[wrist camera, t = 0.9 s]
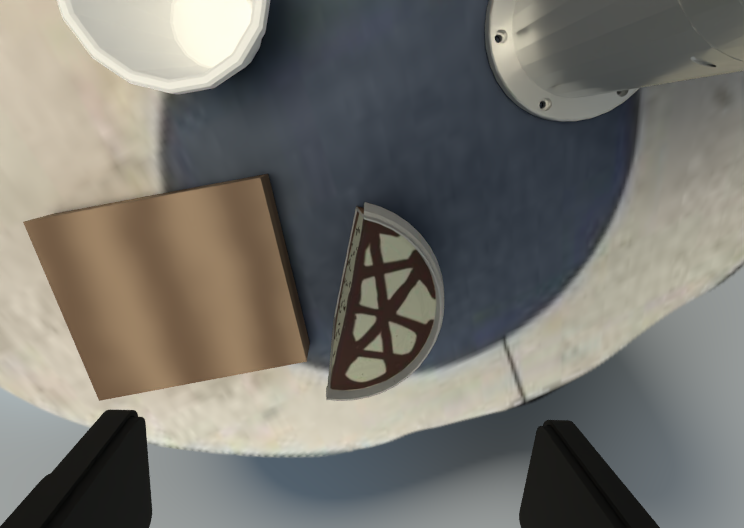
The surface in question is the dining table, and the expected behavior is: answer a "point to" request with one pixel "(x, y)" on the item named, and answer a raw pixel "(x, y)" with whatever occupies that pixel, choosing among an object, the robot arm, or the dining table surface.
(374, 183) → the dining table surface
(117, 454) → the robot arm
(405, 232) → the food container
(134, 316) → the walnut base
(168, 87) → the cup
